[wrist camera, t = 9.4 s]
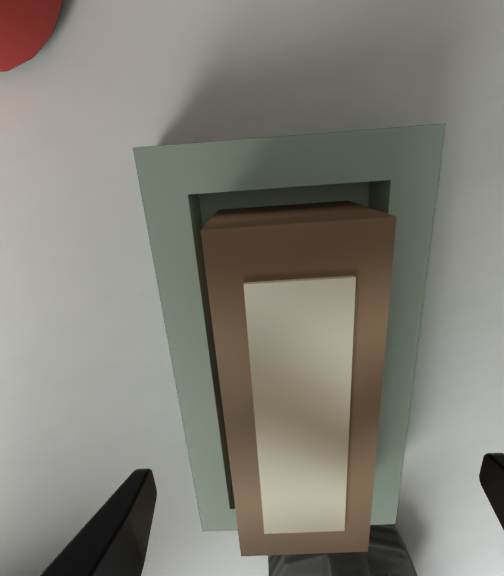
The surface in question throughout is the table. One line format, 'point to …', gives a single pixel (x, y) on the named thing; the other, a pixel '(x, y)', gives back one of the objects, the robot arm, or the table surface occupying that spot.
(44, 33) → the beer can
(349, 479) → the brown two-tone block
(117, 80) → the table surface
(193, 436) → the cradle
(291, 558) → the zipper pull
